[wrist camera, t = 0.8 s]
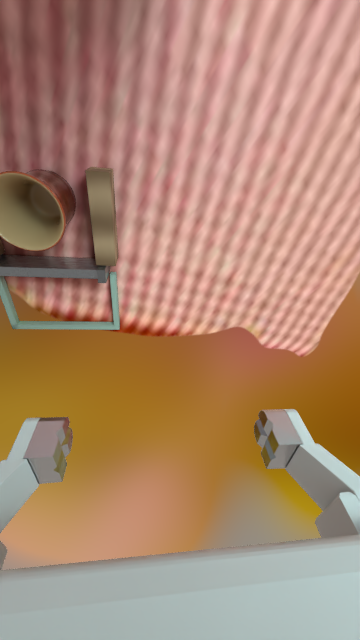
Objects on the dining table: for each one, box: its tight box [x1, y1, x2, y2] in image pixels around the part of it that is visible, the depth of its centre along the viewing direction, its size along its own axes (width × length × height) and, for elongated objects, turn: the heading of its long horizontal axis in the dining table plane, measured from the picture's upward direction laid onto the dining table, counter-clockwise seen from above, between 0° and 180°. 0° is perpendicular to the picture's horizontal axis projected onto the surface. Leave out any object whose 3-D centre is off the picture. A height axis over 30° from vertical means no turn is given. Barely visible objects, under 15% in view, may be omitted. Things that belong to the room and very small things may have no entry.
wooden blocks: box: [0, 167, 118, 266], centre depth 37 cm, size 13×21×4 cm, turn 85°
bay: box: [0, 272, 120, 330], centre depth 48 cm, size 12×20×1 cm, turn 85°
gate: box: [0, 254, 110, 283], centre depth 41 cm, size 2×18×5 cm, turn 85°
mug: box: [0, 170, 76, 251], centre depth 34 cm, size 12×9×10 cm
